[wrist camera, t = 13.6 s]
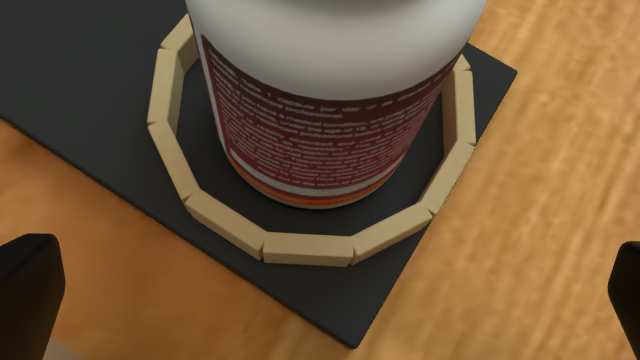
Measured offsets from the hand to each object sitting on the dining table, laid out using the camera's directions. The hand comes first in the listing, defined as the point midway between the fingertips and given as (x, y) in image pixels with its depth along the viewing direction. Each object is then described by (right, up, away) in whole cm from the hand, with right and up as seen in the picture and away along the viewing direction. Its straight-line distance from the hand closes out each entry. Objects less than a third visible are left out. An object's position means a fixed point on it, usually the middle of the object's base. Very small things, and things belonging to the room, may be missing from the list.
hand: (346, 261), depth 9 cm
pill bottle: (-1, +3, +10) cm, 10 cm away
